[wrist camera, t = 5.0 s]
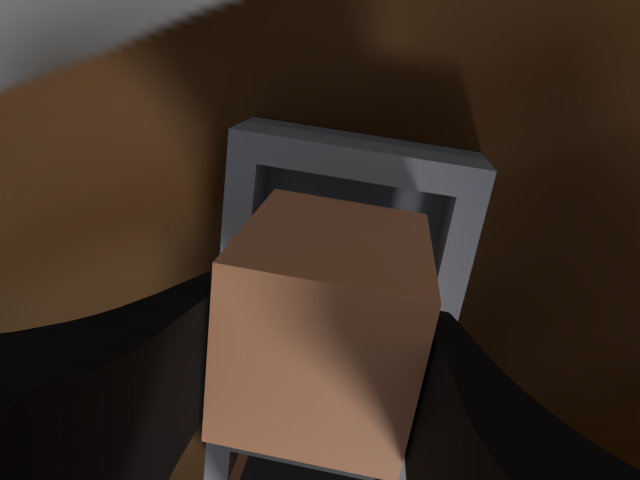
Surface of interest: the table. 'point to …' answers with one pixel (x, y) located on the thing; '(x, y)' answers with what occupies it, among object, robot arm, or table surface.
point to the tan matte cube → (321, 334)
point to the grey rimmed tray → (362, 187)
